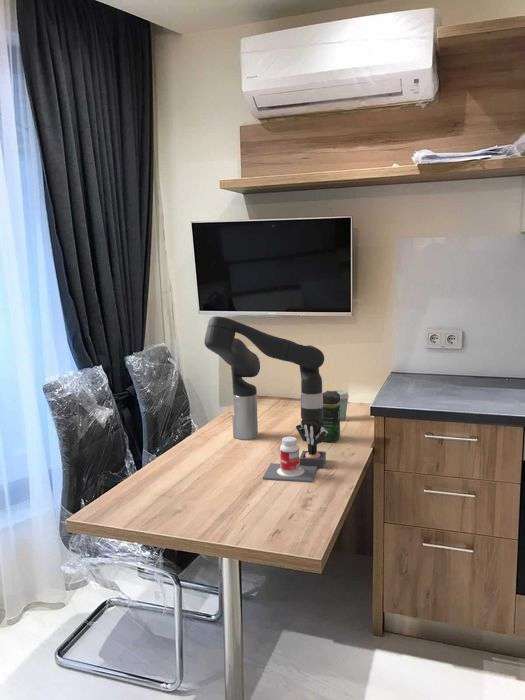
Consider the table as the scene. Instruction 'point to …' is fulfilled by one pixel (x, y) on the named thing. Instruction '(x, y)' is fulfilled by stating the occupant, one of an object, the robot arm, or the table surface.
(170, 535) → the table surface
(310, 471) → the grey rectangular pad
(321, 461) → the button housing
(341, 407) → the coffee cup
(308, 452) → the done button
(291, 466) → the pill bottle
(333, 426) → the coffee jar
